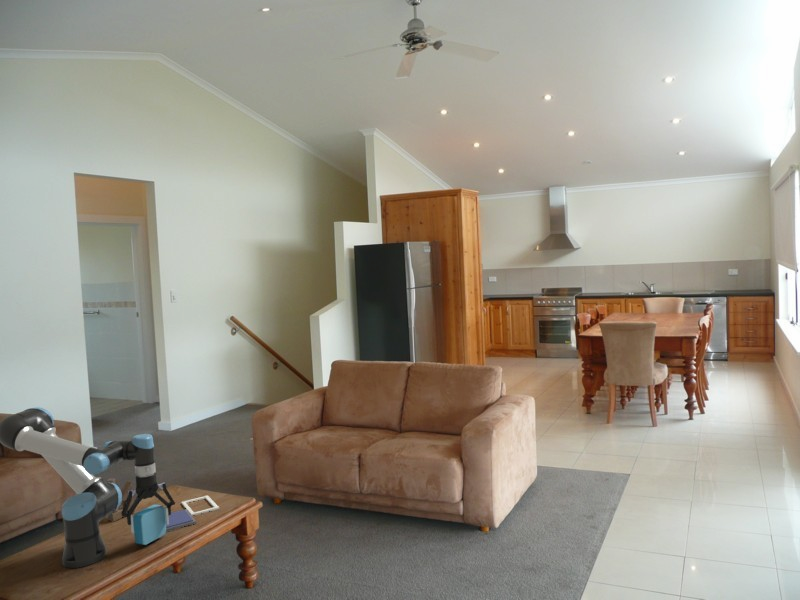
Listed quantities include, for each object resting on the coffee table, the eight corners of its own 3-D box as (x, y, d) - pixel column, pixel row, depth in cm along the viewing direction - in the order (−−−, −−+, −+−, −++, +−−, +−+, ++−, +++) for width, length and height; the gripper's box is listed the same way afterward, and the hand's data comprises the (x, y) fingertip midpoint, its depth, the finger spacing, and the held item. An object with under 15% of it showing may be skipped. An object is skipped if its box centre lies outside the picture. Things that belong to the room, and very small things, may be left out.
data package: (158, 532, 259) (156, 503, 258) (166, 533, 257) (164, 504, 256) (134, 544, 248) (132, 514, 247) (143, 546, 246) (140, 516, 245)
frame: (191, 516, 276) (191, 514, 276) (181, 503, 293) (181, 502, 293) (219, 508, 283) (219, 507, 283) (207, 496, 299) (207, 495, 299)
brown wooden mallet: (135, 513, 285) (131, 473, 284) (113, 522, 276) (108, 481, 275) (130, 511, 287) (126, 472, 286) (108, 521, 278) (103, 480, 277)
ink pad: (158, 534, 260) (158, 530, 260) (150, 521, 274) (150, 517, 274) (196, 523, 268) (195, 520, 268) (186, 511, 282) (186, 508, 282)
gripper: (113, 484, 241) (118, 539, 243) (180, 469, 254) (184, 522, 255) (110, 478, 248) (115, 532, 249) (175, 465, 260) (180, 516, 262)
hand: (150, 527), depth 252 cm, fingers closed on data package, 12 cm apart
